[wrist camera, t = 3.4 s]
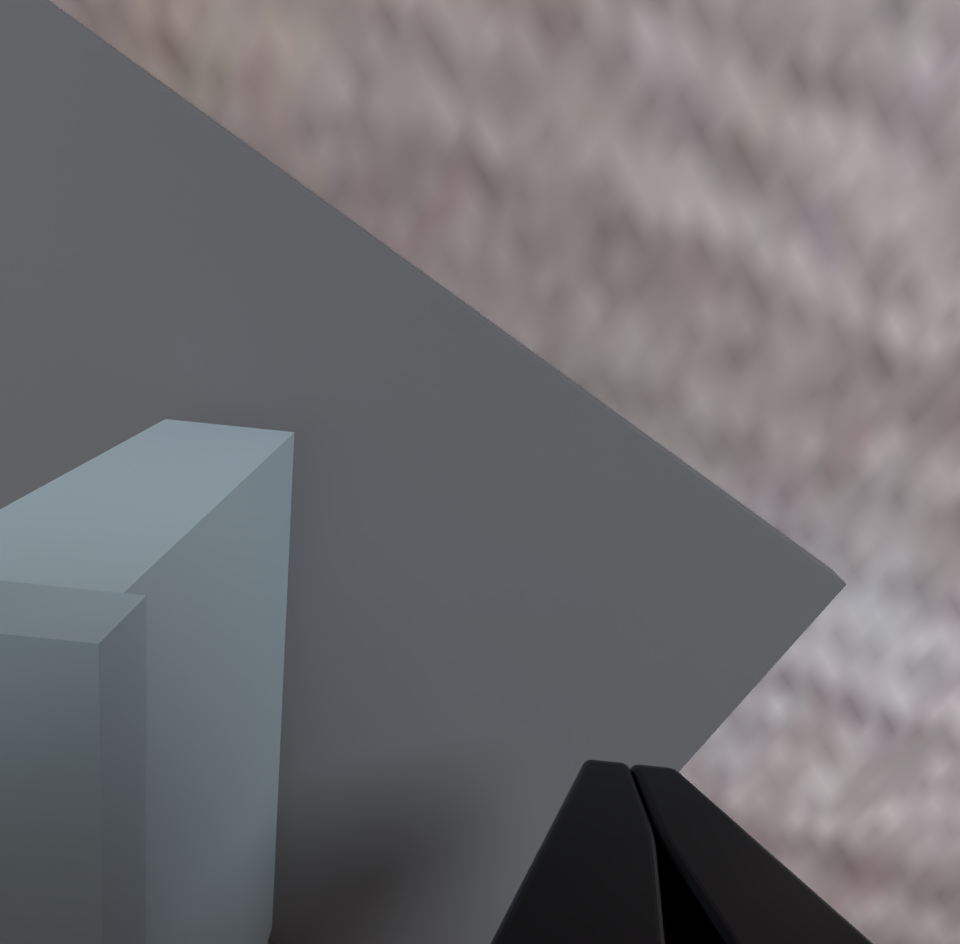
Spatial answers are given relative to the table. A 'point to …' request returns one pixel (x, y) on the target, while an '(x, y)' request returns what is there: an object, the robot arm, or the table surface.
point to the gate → (145, 691)
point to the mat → (373, 496)
